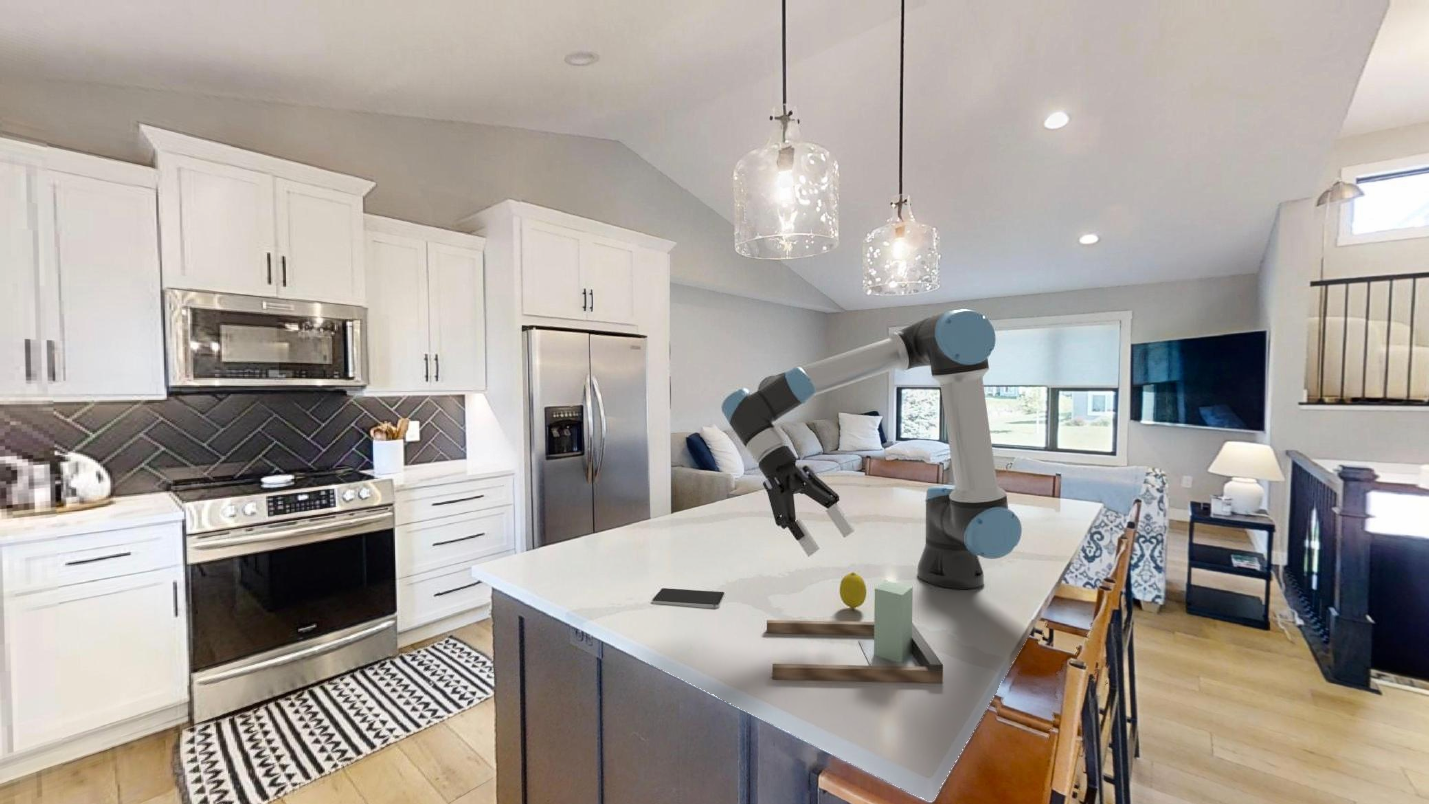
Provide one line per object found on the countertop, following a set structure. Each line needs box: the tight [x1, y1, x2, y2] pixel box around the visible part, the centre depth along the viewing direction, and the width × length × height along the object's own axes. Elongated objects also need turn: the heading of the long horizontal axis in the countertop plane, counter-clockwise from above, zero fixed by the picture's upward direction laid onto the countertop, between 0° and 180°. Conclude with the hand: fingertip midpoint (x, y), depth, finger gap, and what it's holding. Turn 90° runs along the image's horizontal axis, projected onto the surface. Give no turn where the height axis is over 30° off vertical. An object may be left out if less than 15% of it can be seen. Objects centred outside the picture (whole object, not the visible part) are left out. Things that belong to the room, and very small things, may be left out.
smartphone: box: [651, 587, 725, 609], centre depth 127 cm, size 8×1×15 cm
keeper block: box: [873, 580, 914, 664], centre depth 101 cm, size 5×5×12 cm
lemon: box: [839, 571, 867, 610], centre depth 121 cm, size 6×6×8 cm
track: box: [766, 619, 944, 684], centre depth 101 cm, size 28×18×3 cm, turn 88°
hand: (832, 543), depth 109 cm, fingers open, 13 cm apart
